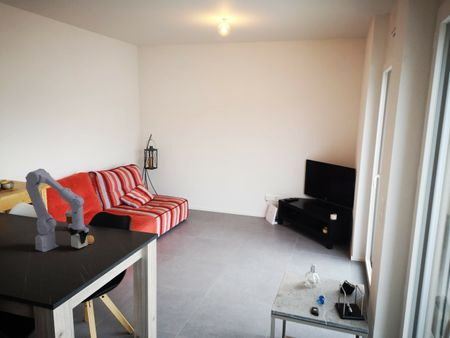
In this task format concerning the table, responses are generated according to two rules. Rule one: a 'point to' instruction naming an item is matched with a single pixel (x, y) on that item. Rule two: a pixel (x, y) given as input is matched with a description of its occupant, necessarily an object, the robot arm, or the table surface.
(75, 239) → the pale grey cube
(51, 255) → the table surface
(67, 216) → the disposable coffee cup
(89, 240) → the ball
